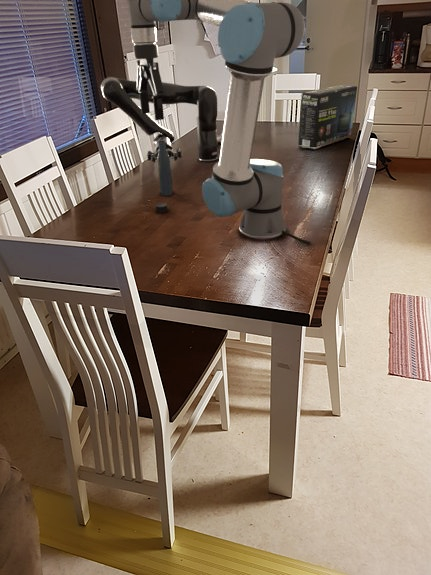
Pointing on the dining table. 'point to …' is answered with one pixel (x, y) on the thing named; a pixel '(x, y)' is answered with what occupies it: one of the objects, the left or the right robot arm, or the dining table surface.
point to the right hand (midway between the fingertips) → (152, 116)
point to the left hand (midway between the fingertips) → (164, 159)
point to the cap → (161, 208)
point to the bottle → (164, 169)
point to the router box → (326, 115)
